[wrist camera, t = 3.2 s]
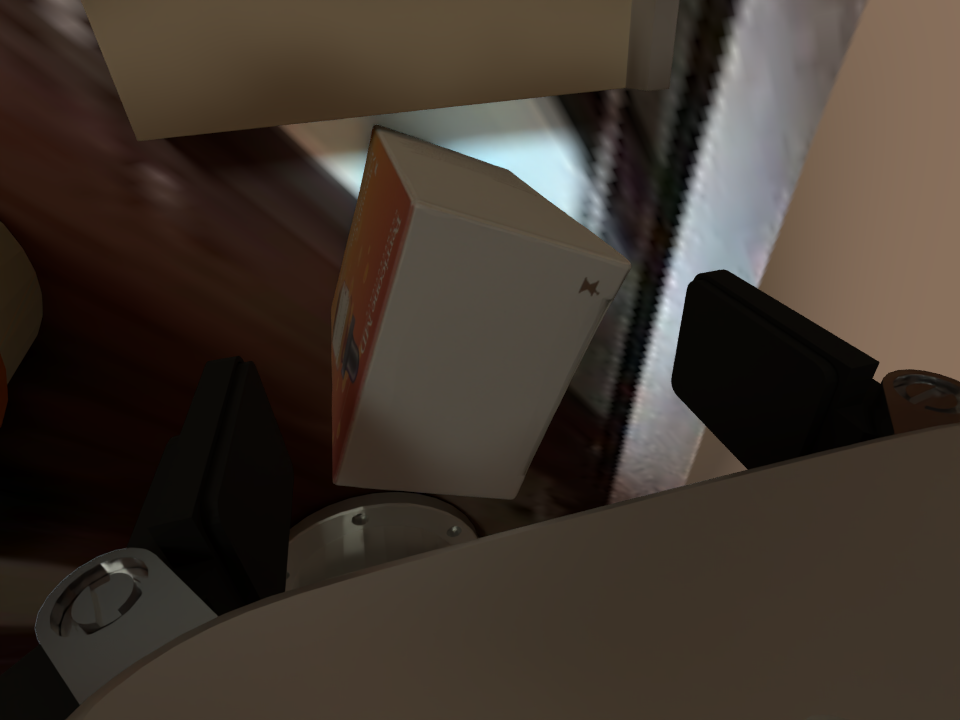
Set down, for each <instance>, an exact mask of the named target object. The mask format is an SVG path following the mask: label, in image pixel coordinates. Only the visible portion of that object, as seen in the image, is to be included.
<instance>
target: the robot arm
mask: <svg viewBox="0 0 960 720" xmlns="http://www.w3.org/2000/svg"><path fill="white" fill-rule="evenodd" d="M878 365H879V361H877V360H875V359H873V358H872V357H870V356H869V355H867V354H865V353H864V352H862V351H860V350H859V349H857V348H855V347H854V346H852V345H850V344H849V343H847V342H845V341H844V340H842V339H840V338H838V337H837V336H835V335H833V334H832V333H830V332H829V331H827V330H825V329H824V328H822V327H820V326H819V325H817V324H815V323H814V322H812V321H810V320H809V319H807V318H805V317H804V316H802V315H800V314H799V313H797V312H795V311H794V310H792V309H790V308H789V307H787V306H786V305H784V304H782V303H780V302H779V301H777V300H775V299H774V298H772V297H771V296H769V295H767V294H766V293H764V292H762V291H761V290H759V289H757V288H756V287H754V286H752V285H751V284H749V283H747V282H746V281H744V280H742V279H741V278H739V277H737V276H736V275H734V274H732V273H731V272H729V271H727V270H724V269H723V270H717V271H711V272H706V273H700V274H698V275H696V277H695V278H694V280H693V281H692V282H690V283H689V285H688V287H687V292H686V297H685V303H684V309H683V315H682V320H681V326H680V332H679V338H678V344H677V349H676V355H675V361H674V367H673V372H672V378H671V383H672V388H673V390H674V392H675V394H676V395H677V396H678V397H679V398H680V399H681V400H682V401H683V402H684V403H685V404H686V406H687V407H688V408H689V409H690V410H691V411H692V412H693V413H694V414H695V415H696V416H697V417H698V418H699V419H700V420H701V421H702V422H703V423H704V424H705V425H706V426H707V427H708V429H710V431H711V432H713V434H714V435H715V436H716V437H717V438H718V439H719V440H720V441H721V442H722V443H723V444H724V445H725V446H726V447H727V448H728V449H729V450H730V452H731V453H733V455H734V456H735V457H736V458H737V459H738V460H739V461H740V462H741V463H742V464H743V465H744V466H745V467H746V468H747V469H748V470H745V471H741V472H737V473H733V474H729V475H725V476H721V477H717V478H713V479H709V480H705V481H701V482H697V483H693V484H689V485H685V486H681V487H677V488H673V489H669V490H665V491H661V492H657V493H653V494H649V495H645V496H641V497H638V498H634V499H630V500H626V501H622V502H618V503H614V504H610V505H606V506H602V507H598V508H594V509H590V510H587V511H583V512H579V513H575V514H571V515H567V516H563V517H559V518H555V519H551V520H547V521H544V522H540V523H536V524H532V525H528V526H524V527H521V528H517V529H513V530H509V531H505V532H501V533H497V534H494V535H490V536H486V537H482V538H479V537H478V535H477V532H476V530H475V528H474V525H473V524H472V523H471V522H470V520H469V519H468V518H467V517H466V516H465V514H463V513H462V512H461V511H459V510H458V509H456V508H455V507H454V506H452V505H450V504H448V503H446V502H444V501H441V500H439V499H437V498H433V497H429V496H425V495H421V494H415V493H403V492H387V493H373V494H368V495H363V496H358V497H353V498H349V499H346V500H343V501H340V502H337V503H334V504H332V505H329V506H327V507H325V508H323V509H321V510H319V511H317V512H315V513H313V514H311V515H309V516H307V517H306V518H305V519H303V520H302V521H300V522H299V523H298V524H296V525H295V526H294V527H292V528H291V529H290V521H291V508H292V495H293V481H294V474H293V467H292V463H291V459H290V457H289V454H288V451H287V449H286V446H285V443H284V441H283V438H282V435H281V433H280V430H279V427H278V425H277V422H276V419H275V417H274V414H273V411H272V409H271V406H270V403H269V401H268V398H267V395H266V393H265V390H264V387H263V385H262V382H261V379H260V377H259V374H258V371H257V369H256V366H255V364H254V363H253V362H252V361H250V362H244V361H243V360H242V358H241V357H240V356H236V357H230V358H224V359H219V360H213V361H208V362H207V363H206V365H205V367H204V370H203V373H202V376H201V378H200V381H199V384H198V387H197V389H196V392H195V395H194V398H193V400H192V403H191V406H190V409H189V411H188V414H187V417H186V420H185V422H184V425H183V428H182V431H181V433H180V435H178V436H174V437H172V438H171V439H170V440H169V442H168V443H167V445H166V448H165V450H164V453H163V455H162V458H161V460H160V463H159V466H158V468H157V471H156V473H155V476H154V479H153V481H152V484H151V486H150V489H149V491H148V494H147V497H146V499H145V502H144V504H143V507H142V510H141V512H140V515H139V517H138V520H137V522H136V525H135V528H134V530H133V533H132V535H131V538H130V540H129V543H128V546H127V548H126V549H120V550H115V551H112V552H109V553H107V554H104V555H101V556H99V557H96V558H95V559H93V560H91V561H89V562H88V563H86V564H84V565H83V566H81V567H79V568H78V569H76V570H75V571H74V572H73V573H71V574H70V575H69V576H68V577H66V578H65V579H64V580H63V581H62V582H61V583H60V584H59V585H58V586H57V587H56V588H55V589H54V590H53V592H52V593H51V594H50V595H49V596H48V597H47V599H46V601H45V602H44V604H43V606H42V608H41V609H40V611H39V613H38V616H37V621H36V625H35V631H36V635H37V639H38V641H39V643H40V645H38V646H37V647H36V648H35V649H33V650H32V651H31V652H30V653H28V654H27V655H26V656H25V657H23V658H22V659H21V660H20V661H18V662H17V663H16V664H15V665H13V666H12V667H11V668H10V669H8V670H7V671H6V672H5V673H3V674H2V675H1V676H0V720H960V382H959V381H957V380H955V379H952V378H949V377H946V376H943V375H940V374H936V373H932V372H927V371H921V370H910V369H909V370H897V371H894V372H890V373H888V374H887V375H886V376H885V377H884V378H883V380H882V382H881V384H880V383H878V382H877V381H875V380H874V379H872V378H873V376H874V374H875V371H876V369H877V367H878Z"/></svg>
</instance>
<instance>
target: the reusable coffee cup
mask: <svg viewBox="0 0 960 720" xmlns="http://www.w3.org/2000/svg"><path fill="white" fill-rule="evenodd" d="M42 317H43V307H42V292H41V289H40V285H39V282H38V279H37V275H36V272H35V270H34V268H33V266H32V264H31V263H30V261H29V259H28V257H27V255H26V253H25V251H24V250H23V248H22V247H21V245H20V244H19V243H18V242H17V240H16V239H15V238H14V237H13V235H12V234H11V233H10V232H9V230H8V229H7V228H6V227H5V225H4V224H3V223H2V222H1V221H0V428H1V426H2V422H3V418H4V414H5V410H6V406H7V402H8V391H7V384H8V383H9V381H10V379H11V378H12V376H13V374H14V373H15V371H16V369H17V368H18V366H19V365H20V363H21V361H22V360H23V358H24V356H25V355H26V353H27V351H28V350H29V348H30V346H31V345H32V343H33V342H34V340H35V338H36V337H37V335H38V332H39V328H40V324H41V320H42Z"/></svg>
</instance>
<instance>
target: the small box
mask: <svg viewBox="0 0 960 720" xmlns="http://www.w3.org/2000/svg"><path fill="white" fill-rule="evenodd" d="M630 269H631V264H630V262H629V261H628V260H627V259H626V258H625V257H624V256H623V255H621V254H620V253H618V252H617V251H616V250H615V249H614V248H612V247H611V246H609V245H608V244H607V243H605V242H604V241H603V240H601V239H600V238H599V237H597V236H596V235H595V234H594V233H592V232H591V231H590V230H588V229H587V228H586V227H584V226H583V225H581V224H580V223H578V222H577V221H575V220H574V219H573V218H572V217H570V216H568V215H567V214H566V213H565V212H563V211H562V210H560V209H559V208H558V207H556V206H555V205H554V204H552V203H551V202H550V201H548V200H547V199H546V198H544V197H543V196H542V195H540V194H539V193H538V192H536V191H535V190H534V189H533V188H531V187H530V186H529V185H527V184H526V183H525V182H523V181H522V180H521V179H519V178H518V177H517V176H516V175H514V174H513V173H512V172H510V171H509V170H507V169H505V168H501V167H498V166H495V165H492V164H489V163H487V162H484V161H481V160H478V159H475V158H473V157H470V156H467V155H464V154H461V153H459V152H456V151H453V150H450V149H447V148H444V147H441V146H438V145H435V144H432V143H430V142H427V141H424V140H421V139H418V138H415V137H413V136H410V135H407V134H404V133H401V132H398V131H395V130H392V129H390V128H387V127H384V126H381V125H377V124H376V125H374V126H373V129H372V133H371V139H370V143H369V148H368V153H367V158H366V164H365V169H364V173H363V178H362V183H361V187H360V192H359V196H358V200H357V205H356V209H355V213H354V217H353V221H352V225H351V229H350V233H349V237H348V241H347V245H346V249H345V253H344V257H343V262H342V266H341V270H340V274H339V278H338V283H337V287H336V291H335V295H334V299H333V304H332V308H331V324H332V458H333V483H334V484H336V485H341V486H352V487H360V488H371V489H382V490H396V491H408V492H420V493H433V494H446V495H458V496H471V497H484V498H497V499H514V498H515V497H516V496H517V494H518V492H519V489H520V487H521V485H522V483H523V480H524V478H525V475H526V473H527V470H528V468H529V466H530V464H531V461H532V459H533V457H534V455H535V453H536V451H537V449H538V447H539V445H540V443H541V441H542V439H543V437H544V435H545V432H546V430H547V428H548V426H549V424H550V422H551V420H552V418H553V415H554V414H555V412H556V410H557V408H558V406H559V404H560V402H561V400H562V398H563V396H564V394H565V392H566V390H567V388H568V386H569V383H570V381H571V379H572V378H573V376H574V374H575V372H576V370H577V368H578V366H579V364H580V362H581V360H582V358H583V356H584V354H585V352H586V350H587V348H588V346H589V344H590V342H591V340H592V338H593V336H594V334H595V332H596V330H597V328H598V326H599V324H600V322H601V321H602V319H603V317H604V315H605V313H606V311H607V309H608V307H609V306H610V304H611V302H612V301H613V300H614V298H615V296H616V294H617V292H618V290H619V289H620V287H621V285H622V283H623V281H624V280H625V278H626V276H627V274H628V273H629V271H630Z"/></svg>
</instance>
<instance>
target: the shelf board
mask: <svg viewBox="0 0 960 720" xmlns="http://www.w3.org/2000/svg"><path fill="white" fill-rule="evenodd" d="M81 2H82V4H83V6H84V9H85V11H86V14H87V16H88V19H89V21H90V24H91V26H92V29H93V31H94V34H95V36H96V39H97V41H98V44H99V46H100V49H101V51H102V54H103V56H104V59H105V61H106V64H107V66H108V69H109V71H110V74H111V76H112V79H113V81H114V84H115V86H116V88H117V91H118V93H119V96H120V98H121V101H122V103H123V106H124V108H125V111H126V113H127V116H128V118H129V121H130V123H131V126H132V128H133V131H134V133H135V136H136V138H137V141H143V140H152V139H161V138H170V137H180V136H189V135H198V134H207V133H216V132H225V131H235V130H244V129H253V128H262V127H271V126H280V125H289V124H299V123H308V122H317V121H326V120H335V119H344V118H354V117H363V116H372V115H381V114H390V113H399V112H408V111H418V110H427V109H436V108H445V107H454V106H463V105H473V104H482V103H491V102H500V101H509V100H518V99H527V98H537V97H546V96H555V95H564V94H573V93H582V92H592V91H601V90H610V89H619V88H630V89H637V90H643V91H653V90H662V89H669V85H670V77H671V68H672V59H673V50H674V42H675V33H676V24H677V15H678V7H679V0H81Z"/></svg>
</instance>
